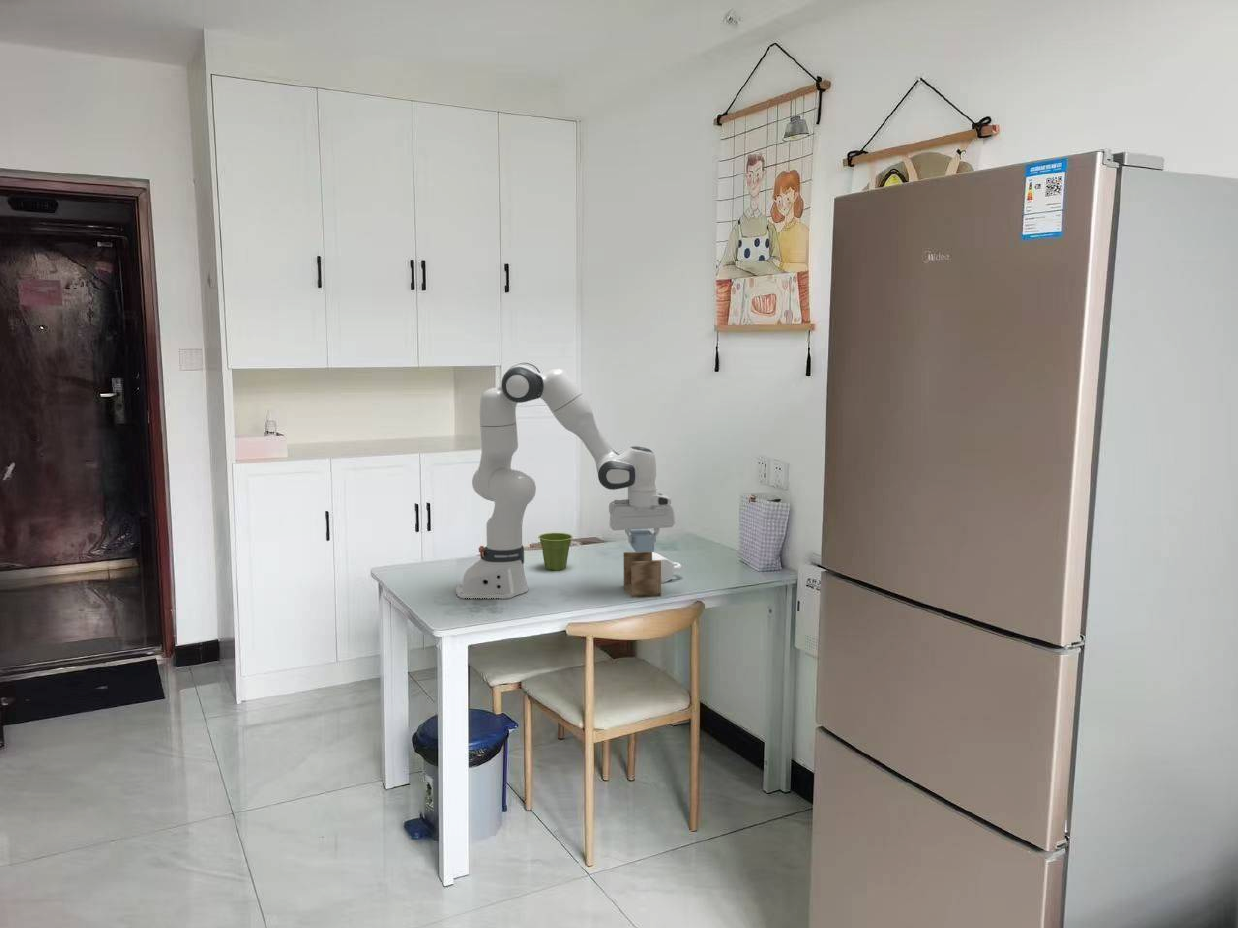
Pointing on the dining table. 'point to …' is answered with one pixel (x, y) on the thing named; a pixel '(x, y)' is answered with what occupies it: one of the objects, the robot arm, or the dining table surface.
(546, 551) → the plant pot
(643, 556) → the stand
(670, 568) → the mug
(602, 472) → the robot arm
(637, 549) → the light blue block
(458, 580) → the dining table surface
